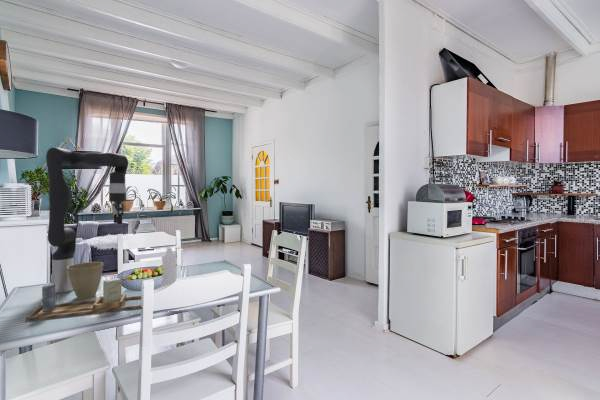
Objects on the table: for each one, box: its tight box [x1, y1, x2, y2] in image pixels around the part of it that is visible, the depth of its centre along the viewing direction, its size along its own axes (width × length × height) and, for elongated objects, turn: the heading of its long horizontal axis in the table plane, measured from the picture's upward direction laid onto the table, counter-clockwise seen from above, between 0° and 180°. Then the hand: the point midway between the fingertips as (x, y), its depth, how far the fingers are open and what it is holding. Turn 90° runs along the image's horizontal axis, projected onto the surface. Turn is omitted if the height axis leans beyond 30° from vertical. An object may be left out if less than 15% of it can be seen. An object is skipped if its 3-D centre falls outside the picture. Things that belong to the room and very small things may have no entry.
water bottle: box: [161, 245, 180, 287], centre depth 155 cm, size 9×6×25 cm
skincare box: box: [102, 277, 122, 303], centre depth 143 cm, size 6×4×12 cm
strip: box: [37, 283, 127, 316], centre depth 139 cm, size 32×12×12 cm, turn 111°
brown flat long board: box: [25, 294, 142, 322], centre depth 141 cm, size 44×15×2 cm, turn 111°
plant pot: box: [67, 261, 104, 300], centre depth 156 cm, size 15×15×16 cm
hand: (117, 223), depth 162 cm, fingers open, 8 cm apart
